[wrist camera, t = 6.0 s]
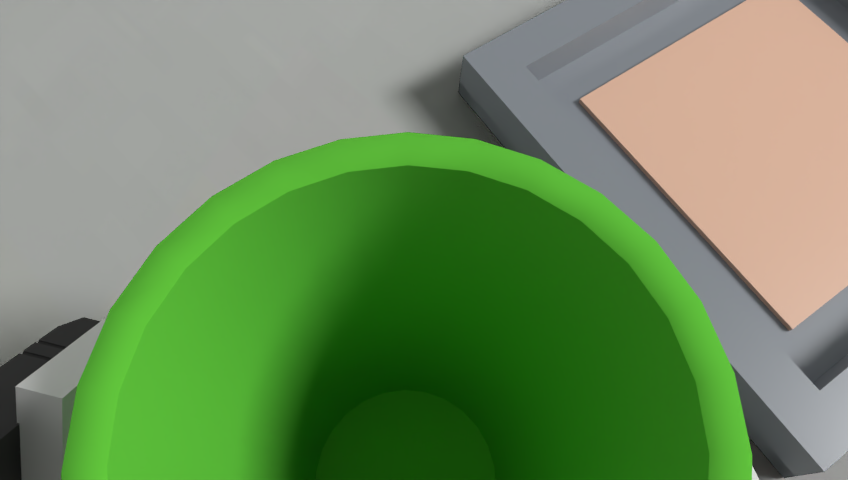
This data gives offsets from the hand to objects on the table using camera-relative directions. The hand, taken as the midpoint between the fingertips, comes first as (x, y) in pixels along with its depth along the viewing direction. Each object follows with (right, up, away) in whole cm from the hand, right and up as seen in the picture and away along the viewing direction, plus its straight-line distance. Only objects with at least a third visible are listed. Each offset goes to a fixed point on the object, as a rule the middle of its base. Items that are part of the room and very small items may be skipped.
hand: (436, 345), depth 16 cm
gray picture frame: (+12, +6, +8) cm, 15 cm away
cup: (-1, -4, +3) cm, 5 cm away
